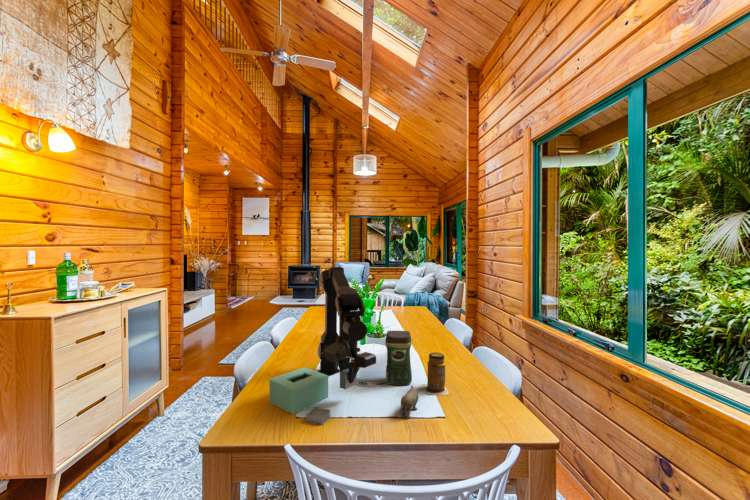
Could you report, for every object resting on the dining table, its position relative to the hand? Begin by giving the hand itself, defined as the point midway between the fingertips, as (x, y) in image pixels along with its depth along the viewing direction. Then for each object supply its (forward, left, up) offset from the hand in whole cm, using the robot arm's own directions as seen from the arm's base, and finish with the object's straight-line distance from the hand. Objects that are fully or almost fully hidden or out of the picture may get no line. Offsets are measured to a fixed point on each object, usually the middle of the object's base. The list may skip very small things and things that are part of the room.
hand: (348, 381), depth 111 cm
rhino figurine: (-10, +17, -7) cm, 21 cm away
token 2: (0, 0, -1) cm, 1 cm away
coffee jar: (-24, +2, -7) cm, 25 cm away
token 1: (+13, +1, -7) cm, 15 cm away
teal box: (+9, -13, -7) cm, 17 cm away
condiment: (-27, +16, -7) cm, 32 cm away
